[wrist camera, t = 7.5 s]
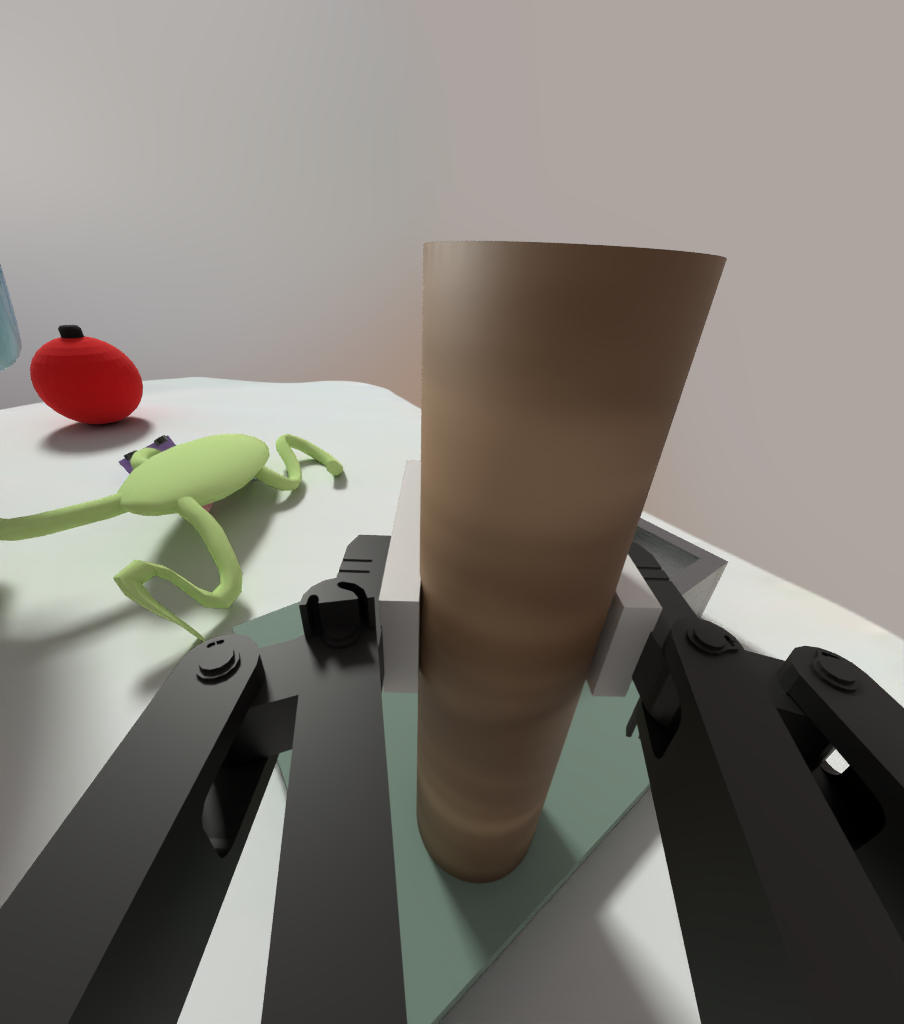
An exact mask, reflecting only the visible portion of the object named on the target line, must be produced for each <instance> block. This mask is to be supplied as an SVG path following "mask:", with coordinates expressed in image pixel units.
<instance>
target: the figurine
mask: <svg viewBox="0 0 904 1024" xmlns="http://www.w3.org/2000/svg"><path fill="white" fill-rule="evenodd" d="M154 442H155V443H153V444H151V445H149V446H147V447H145V448H143V449H141V450H139V451H137V450H136V451H133V452H130V453H128V454H126V455H124V457H125V459H123V460H121V461H119V463H120V465H122V466H123V467H124V468H125V469H126V471H127V472H128V473H129V474H130V475H129V476H128V478H127V479H126V481H125V482H124V483H123V485H122V486H121V488H120V489H119V491H118V492H117V494H114V495H111V496H108V497H105V498H102V499H98V500H94V501H90V502H86V503H81V504H77V505H73V506H69V507H65V508H61V509H57V510H53V511H49V512H44V513H40V514H36V515H31V516H25V517H19V518H12V519H1V518H0V540H7V541H15V540H23V539H29V538H34V537H40V536H45V535H49V534H52V533H56V532H60V531H64V530H68V529H71V528H75V527H79V526H82V525H86V524H90V523H94V522H97V521H101V520H105V519H109V518H112V517H115V516H118V515H121V514H123V513H126V512H131V513H133V514H138V515H143V516H159V515H166V514H174V513H178V514H179V515H180V516H181V517H183V518H184V519H185V520H186V521H188V522H189V523H190V524H191V525H192V526H193V527H194V528H195V529H196V530H197V531H198V532H199V534H200V535H201V537H202V539H203V540H204V542H205V544H206V546H207V548H208V550H209V552H210V554H211V556H212V557H213V559H214V561H215V564H216V566H217V568H218V570H219V574H220V585H219V586H218V587H217V588H216V589H215V590H214V591H213V592H209V591H206V590H203V589H200V588H198V587H196V586H195V585H193V584H192V583H190V582H189V581H187V580H186V579H184V578H183V577H181V576H180V575H178V574H177V573H175V572H173V571H172V570H170V569H169V568H167V567H165V566H164V565H159V564H154V563H149V562H145V561H140V560H134V561H133V562H132V563H130V564H129V565H128V566H127V567H125V568H124V569H123V570H122V571H121V572H119V573H118V574H117V575H116V576H114V577H113V579H114V580H115V582H116V583H117V585H118V586H119V588H120V589H121V590H122V592H123V593H124V595H125V596H127V597H128V598H130V599H131V600H133V601H134V602H136V603H138V604H139V605H141V606H142V607H144V608H146V609H148V610H149V611H151V612H153V613H155V614H157V615H159V616H161V617H163V618H165V619H167V620H169V621H172V622H174V623H176V624H178V625H180V626H181V627H183V628H184V629H186V630H187V631H189V632H190V633H191V634H193V635H194V636H196V637H197V638H198V639H200V640H202V641H203V642H204V641H206V640H205V639H204V638H203V637H202V635H200V634H199V633H198V632H197V631H195V630H194V629H193V628H191V627H190V626H189V625H188V624H186V623H185V622H184V621H182V620H181V619H179V618H178V617H177V616H175V615H174V614H172V613H171V612H170V611H168V610H167V609H166V608H165V607H163V606H162V605H161V604H160V603H158V602H157V601H156V600H155V599H153V597H152V596H151V595H150V593H149V592H148V591H147V589H146V588H145V587H144V586H143V583H145V582H146V581H148V580H149V579H151V578H152V577H154V576H155V575H156V576H159V577H161V578H164V579H166V580H169V581H170V582H172V583H173V584H175V585H176V586H177V587H179V588H180V589H181V590H183V591H184V592H185V593H187V594H188V595H189V596H191V597H192V598H193V599H195V600H196V601H197V602H199V603H200V604H201V605H202V606H204V607H211V608H223V609H227V608H229V607H230V605H231V604H232V603H233V602H234V601H235V599H236V598H237V597H238V596H239V595H240V593H241V592H242V571H241V568H240V565H239V563H238V560H237V557H236V555H235V553H234V551H233V549H232V547H231V545H230V543H229V540H228V538H227V536H226V534H225V532H224V530H223V529H222V527H221V526H220V525H219V524H218V523H217V521H216V520H215V519H214V518H213V517H212V515H211V514H209V513H208V512H209V510H210V508H211V506H212V504H213V502H216V501H218V500H221V499H224V498H225V497H227V496H229V495H230V494H232V493H234V492H236V491H237V490H239V489H241V488H243V487H244V486H245V485H247V484H248V483H249V482H250V481H251V480H252V479H254V480H260V481H261V482H263V483H265V484H267V485H269V486H271V487H274V488H276V489H279V490H282V491H288V490H295V489H296V488H297V487H298V486H299V484H300V482H301V479H302V472H301V468H300V464H299V462H298V460H297V458H296V456H295V454H294V452H293V451H292V449H291V448H290V447H292V448H295V449H297V450H300V451H302V452H304V453H305V454H307V455H309V456H311V457H312V458H314V459H316V460H317V461H319V462H320V463H322V464H324V465H325V466H326V468H327V471H328V472H330V473H331V474H332V475H335V476H337V475H340V474H341V472H342V471H343V466H342V465H341V464H340V463H339V462H338V461H337V460H336V459H335V458H333V457H332V456H331V455H330V454H329V453H327V452H325V451H324V450H322V449H320V448H319V447H317V446H315V445H313V444H312V443H310V442H308V441H307V440H304V439H302V438H299V437H296V436H293V435H289V434H286V435H283V436H281V437H279V438H278V440H277V441H276V449H277V451H278V453H279V455H280V456H281V458H282V459H283V461H284V463H285V465H286V467H287V471H288V475H289V478H287V477H284V476H282V475H280V474H278V473H276V472H274V471H272V470H270V469H268V468H267V467H265V466H264V465H265V463H266V462H267V460H268V458H269V449H268V447H267V445H266V444H265V442H263V441H261V440H259V439H257V438H255V437H252V436H248V435H243V434H222V435H214V436H209V437H205V438H201V439H197V440H194V441H190V442H187V443H184V444H180V445H177V446H176V445H175V444H174V442H173V441H172V440H171V439H170V437H169V436H165V435H164V436H161V437H159V438H158V439H156V440H155V441H154Z"/></svg>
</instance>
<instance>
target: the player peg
mask: <svg viewBox="0 0 904 1024" xmlns="http://www.w3.org/2000/svg"><path fill="white" fill-rule="evenodd" d="M725 262H726V258H725V257H721V256H717V255H710V254H703V253H694V252H684V251H673V250H662V249H649V248H636V247H620V246H604V245H587V244H565V243H542V242H540V243H539V242H508V241H507V242H506V241H440V242H428V243H424V263H423V266H424V267H423V340H422V346H423V347H422V416H421V493H420V570H419V571H420V577H421V590H420V656H419V681H418V725H417V802H416V815H417V824H418V829H419V833H420V836H421V839H422V842H423V844H424V846H425V848H426V850H427V851H428V853H429V855H430V856H431V858H432V859H433V860H434V861H435V862H436V864H437V865H438V866H439V867H441V868H442V869H443V870H444V871H445V872H447V873H448V874H450V875H451V876H453V877H455V878H457V879H459V880H462V881H465V882H469V883H476V884H479V883H489V882H494V881H497V880H499V879H502V878H503V877H505V876H507V875H508V874H510V873H511V872H512V871H513V870H515V869H516V868H517V867H518V865H519V864H520V863H521V862H522V860H523V859H524V857H525V856H526V854H527V852H528V849H529V847H530V845H531V842H532V839H533V836H534V833H535V830H536V827H537V824H538V821H539V818H540V815H541V812H542V809H543V806H544V803H545V800H546V797H547V794H548V791H549V788H550V785H551V782H552V779H553V776H554V773H555V770H556V767H557V764H558V761H559V758H560V755H561V752H562V749H563V746H564V743H565V740H566V737H567V734H568V731H569V728H570V725H571V722H572V719H573V716H574V713H575V710H576V707H577V704H578V701H579V698H580V695H581V692H582V689H583V686H584V683H585V680H586V677H587V674H588V671H589V668H590V665H591V662H592V659H593V656H594V653H595V651H596V648H597V645H598V642H599V639H600V636H601V633H602V630H603V627H604V624H605V621H606V618H607V615H608V612H609V609H610V606H611V603H612V600H613V597H614V594H615V591H616V588H617V585H618V582H619V579H620V576H621V573H622V570H623V567H624V564H625V561H626V558H627V555H628V552H629V549H630V546H631V543H632V540H633V537H634V534H635V531H636V528H637V525H638V522H639V519H640V516H641V513H642V510H643V507H644V504H645V501H646V498H647V495H648V492H649V489H650V486H651V483H652V480H653V477H654V474H655V471H656V468H657V465H658V462H659V459H660V456H661V453H662V450H663V447H664V444H665V442H666V439H667V435H668V433H669V429H670V427H671V423H672V420H673V417H674V415H675V411H676V409H677V406H678V403H679V400H680V397H681V394H682V391H683V388H684V385H685V382H686V379H687V376H688V373H689V370H690V367H691V364H692V361H693V358H694V355H695V352H696V349H697V346H698V343H699V340H700V337H701V334H702V331H703V328H704V325H705V322H706V319H707V316H708V313H709V310H710V307H711V304H712V301H713V298H714V295H715V292H716V289H717V286H718V283H719V280H720V277H721V274H722V271H723V268H724V265H725Z"/></svg>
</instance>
